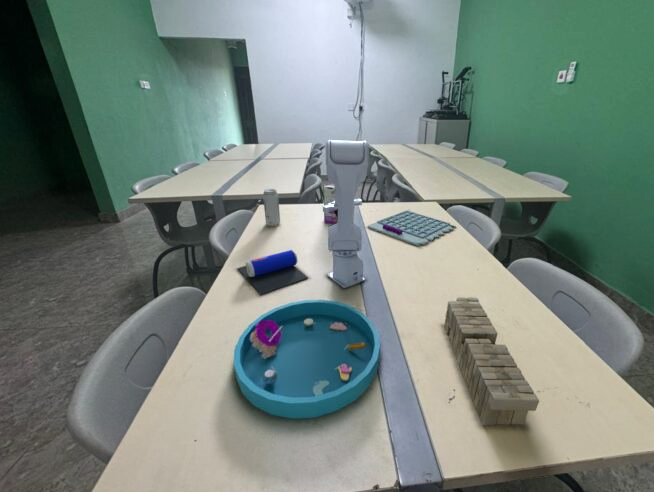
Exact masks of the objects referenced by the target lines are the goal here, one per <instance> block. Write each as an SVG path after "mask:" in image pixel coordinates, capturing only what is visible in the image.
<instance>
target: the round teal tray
mask: <svg viewBox="0 0 654 492" xmlns="http://www.w3.org/2000/svg"><path fill="white" fill-rule="evenodd" d="M233 353H234V354H233V368H234V373H235V377H236V381H237V384H238V386H239V389H240V391H241V394H242V395H243V396H244V397H245V399H247V400H248V402H250V403H251V405H253V407H255V408H257V409H259V410H261V411H263V412H265V413H267V414H269V415H270V416H276V417H282V418H287V419H292V420H295V419H312V418H313V419H314V418H318V417H322V416H324V415H327V414H331V413H335V412H338V411H340V410H341V409H343V408H344V407H347V406H348V405H350V404H351V403H353V402H355V401H357V399H359V398H360V397H361V396H362V394H364V392H365V391H367V389H369V388H370V386H371V384H372V382H373V380H374V378H375V376H377V373H378V368H379V363H380V354H381V342H380V336H379V332H378V330H377V328H376V326H375V325H374V322H373V321H372V320H371V319H370V318H369V317H368V316H367V315H366V314H364V312H363V311H360V310H359V309H357V308H355V307H353V306H351V305H348V304H345V303H342V302H340V301H335V300H327V299H305V300H299V301H293V302H289V303H286V304H283V305H280V306H277V307H274V308H272V309H270V310H268V311H267V312H265V313H263V314H261V315H260V316H259V317H257V318H256V319H255V320H253V321H252V322H251V323H250V324H248V326H247V327H246V328H245V329H244V331H243V332H242V333H241V335H240V336H239V337H238V340H237V342H236V345H235V347H234V350H233Z"/></svg>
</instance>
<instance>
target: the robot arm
mask: <svg viewBox="0 0 654 492" xmlns="http://www.w3.org/2000/svg"><path fill="white" fill-rule="evenodd" d="M369 148H370V147H369V143H368V141H367V140H359V141H357V140H331V139H328V140H327V141H325V166H326V176H327V180H328V181H329V182H330V183H332V184H333V185H334V202H332V203H330V204H328V205H325V206H324V205H322V212H323V213H324V212H325V213H329V212H330V211H334V213H335V215H336V217H337V219H338V223H336V224H332V225H331V226H329V228H328V229H327V230H328V231H327V250H328V251H329V252H332V253H331V254H332V271H331V272H329V273H327V275H326V276H327V277H328V278H330V279H331V280H332V281H334V282H335V283H336V284H338V285H339V286H340V287H342V288H343V289H347V288H350V287H352V286H354V285H357V284H359V283H361V282H364V281H365V280H366V278H365V277H364V262H363V260H362V259H361V258H360V257H359V255H358V252H360V251H361V250H362V247H363V245H362V244H363V243H362V242H363V239H362V238H363V236H362V235H363V233H362V228H361V225H358V224H356V223H354V217H355V206H362V205H363V199H362V198H359V197H358V198H356V194H357V191H358V188H359V185H360V184H362V183H364V182H365V181H366V179H367V176H368V168H369V159H370V149H369Z"/></svg>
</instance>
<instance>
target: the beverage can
mask: <svg viewBox="0 0 654 492" xmlns="http://www.w3.org/2000/svg"><path fill="white" fill-rule="evenodd" d="M298 261H299V260H298V255H297V253H296V251H295V250H293V249H289V250H286V251H282V252H278V253H273V254H270V255H266V256H262V257H258V258H254V259H250V260H248V261H246V262H245V266H246V269H247V273H248V275H249V276H250V277H256V276H259V275H263V274H266V273H270V272H273V271H277V270H280V269H284V268H287V267H291V266H296V265H297V264H298Z"/></svg>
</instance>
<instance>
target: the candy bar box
mask: <svg viewBox="0 0 654 492" xmlns="http://www.w3.org/2000/svg"><path fill="white" fill-rule="evenodd" d="M322 188H323V189H322V190H323V206H325V205H328V204H330V203H332V202H334V184H326V185H324V186H323V187H322ZM323 215H324V216H323V222H324V223H326V224H332V225H334V224H336V223H338V219H337V217H336V215H335V213H334V211H330V212H329V213H325V212H323Z"/></svg>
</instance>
